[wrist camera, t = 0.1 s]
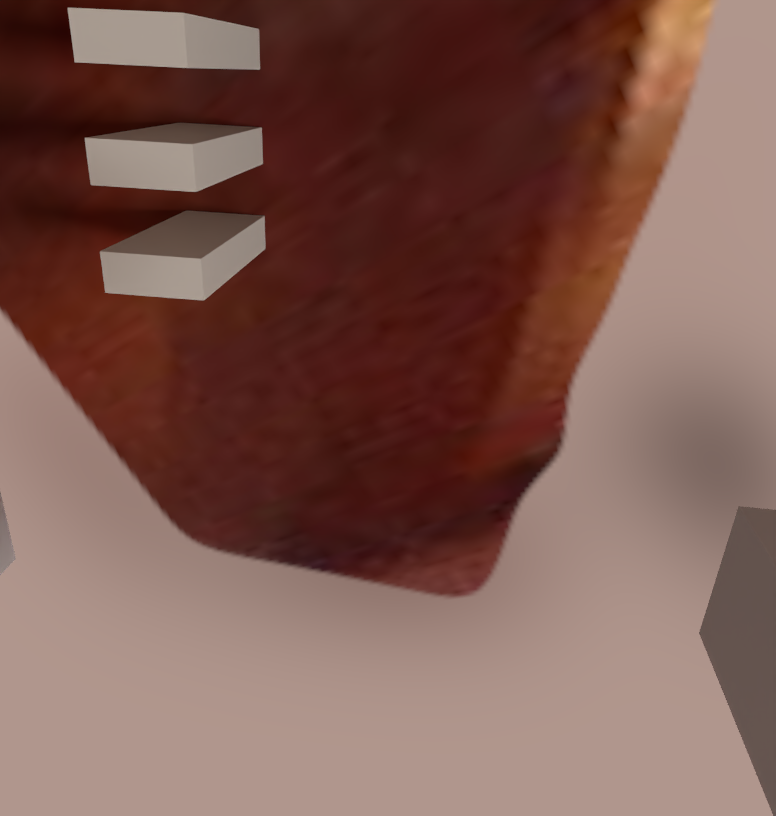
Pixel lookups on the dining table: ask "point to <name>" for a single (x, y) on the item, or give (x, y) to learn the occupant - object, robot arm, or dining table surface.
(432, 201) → the dining table surface
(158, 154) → the tile
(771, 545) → the robot arm
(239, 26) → the tile
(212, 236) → the grey rectangular block
